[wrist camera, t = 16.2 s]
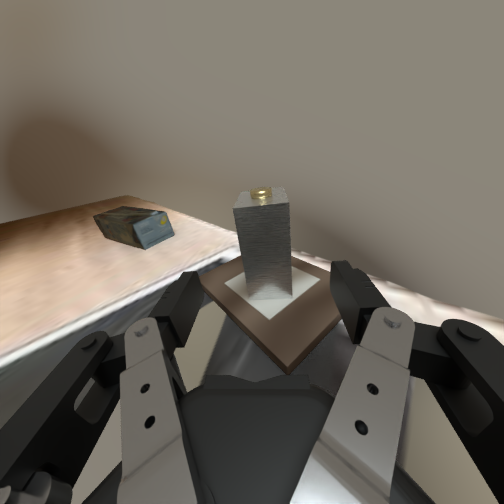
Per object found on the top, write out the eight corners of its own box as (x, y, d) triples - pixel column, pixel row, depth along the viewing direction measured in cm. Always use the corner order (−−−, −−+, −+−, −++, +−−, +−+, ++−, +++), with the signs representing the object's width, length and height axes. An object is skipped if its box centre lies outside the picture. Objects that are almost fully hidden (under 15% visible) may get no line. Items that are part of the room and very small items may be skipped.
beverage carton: (143, 252, 38) (129, 221, 35) (103, 239, 49) (89, 214, 45) (176, 235, 44) (166, 207, 41) (134, 227, 54) (123, 204, 51)
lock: (249, 300, 20) (231, 201, 15) (253, 268, 26) (240, 186, 20) (292, 298, 20) (288, 194, 15) (287, 265, 25) (283, 180, 20)
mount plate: (363, 295, 21) (365, 286, 20) (287, 376, 15) (287, 366, 14) (263, 250, 32) (262, 243, 31) (198, 285, 26) (195, 277, 25)
